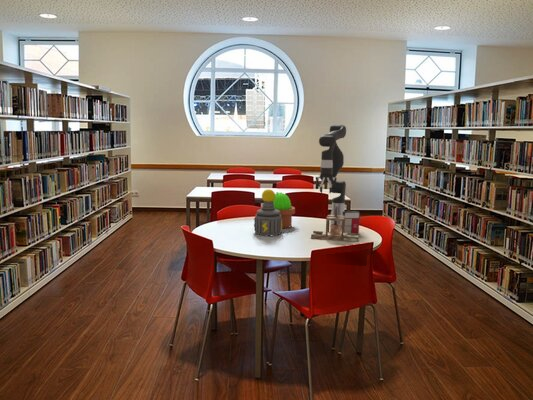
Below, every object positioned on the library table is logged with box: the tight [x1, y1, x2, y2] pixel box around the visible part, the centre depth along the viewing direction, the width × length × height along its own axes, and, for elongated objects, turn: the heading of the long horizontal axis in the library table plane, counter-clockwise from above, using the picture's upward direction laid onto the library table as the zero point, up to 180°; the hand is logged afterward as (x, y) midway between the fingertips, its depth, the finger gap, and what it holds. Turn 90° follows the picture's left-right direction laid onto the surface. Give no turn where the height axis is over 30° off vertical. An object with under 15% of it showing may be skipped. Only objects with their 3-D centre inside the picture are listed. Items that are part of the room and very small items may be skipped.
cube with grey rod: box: [322, 206, 348, 236], centre depth 312 cm, size 16×9×19 cm, turn 78°
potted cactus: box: [273, 192, 296, 229], centre depth 348 cm, size 22×22×25 cm
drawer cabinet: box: [310, 214, 360, 242], centre depth 313 cm, size 30×12×14 cm, turn 78°
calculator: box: [343, 210, 361, 234], centre depth 328 cm, size 11×4×15 cm, turn 101°
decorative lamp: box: [253, 188, 283, 236], centre depth 322 cm, size 19×19×30 cm
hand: (325, 192), depth 311 cm, fingers open, 5 cm apart
